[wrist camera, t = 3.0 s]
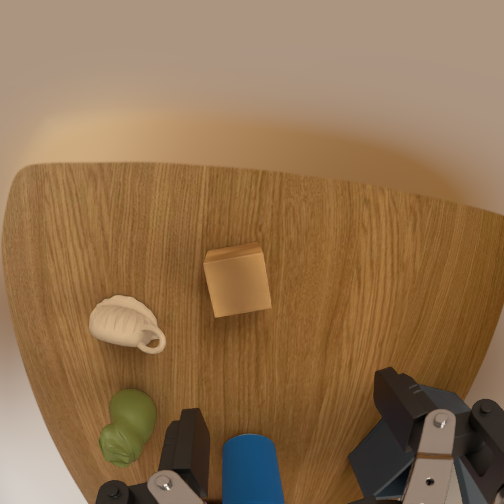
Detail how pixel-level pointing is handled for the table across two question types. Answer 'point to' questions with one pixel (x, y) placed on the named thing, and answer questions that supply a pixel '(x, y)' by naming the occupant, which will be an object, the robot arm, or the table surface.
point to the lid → (467, 485)
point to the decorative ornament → (126, 324)
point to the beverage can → (250, 471)
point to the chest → (392, 453)
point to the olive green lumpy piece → (127, 427)
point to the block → (237, 279)
